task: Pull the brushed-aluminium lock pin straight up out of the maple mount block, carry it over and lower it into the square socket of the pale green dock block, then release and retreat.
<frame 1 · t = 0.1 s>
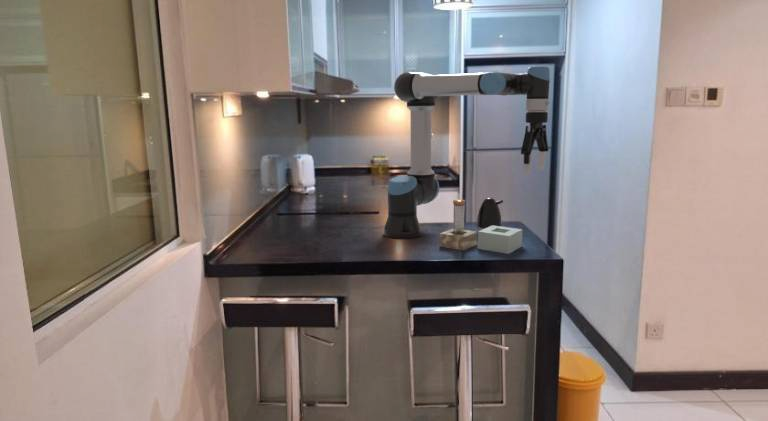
hand: (534, 171, 188), 28 cm above the countertop, fingers open, 13 cm apart
pin: (458, 223, 192), in the mount
pump dispenser: (488, 234, 210), on the countertop
mount: (458, 245, 194), on the countertop
dock: (499, 247, 191), on the countertop
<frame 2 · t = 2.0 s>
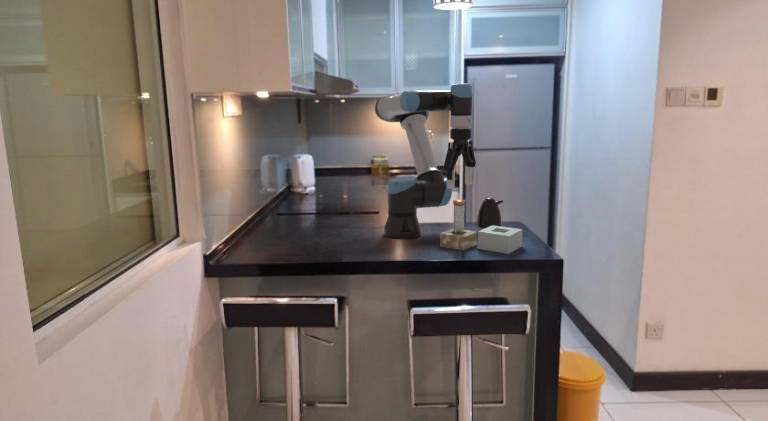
hand: (459, 186, 189), 22 cm above the countertop, fingers open, 13 cm apart
nothing on the countertop moved.
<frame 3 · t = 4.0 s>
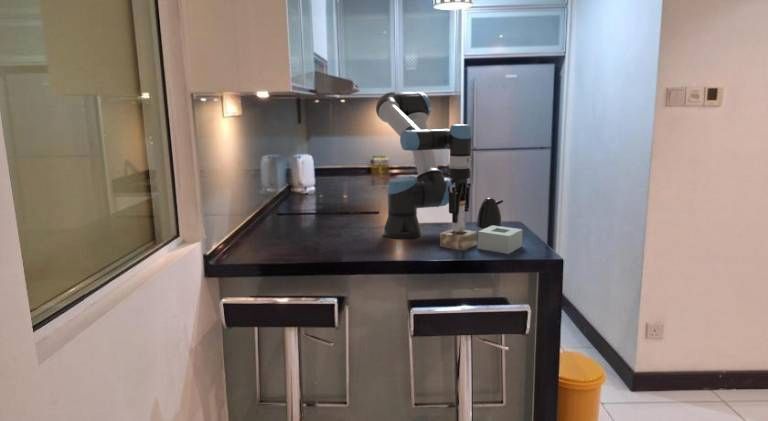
hand: (458, 229, 193), 6 cm above the countertop, fingers closed on pin, 4 cm apart
pin: (458, 223, 192), in the mount, touching gripper
everything else where it was.
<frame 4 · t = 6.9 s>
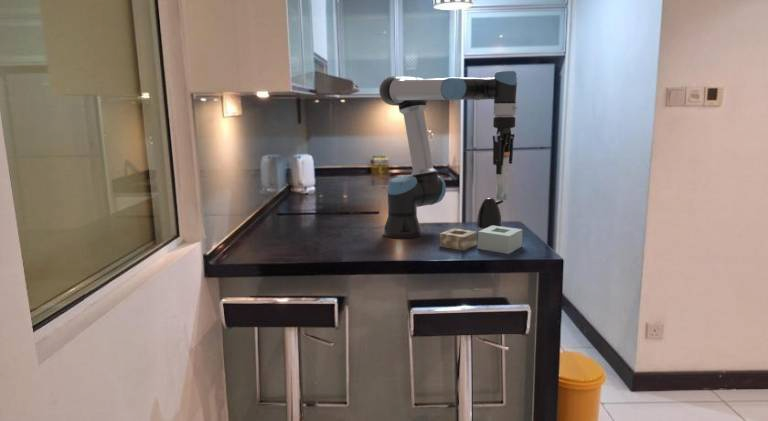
hand: (502, 182, 186), 24 cm above the countertop, fingers closed on pin, 4 cm apart
pin: (502, 175, 185), point 27 cm above the countertop, touching gripper
everything else where it was.
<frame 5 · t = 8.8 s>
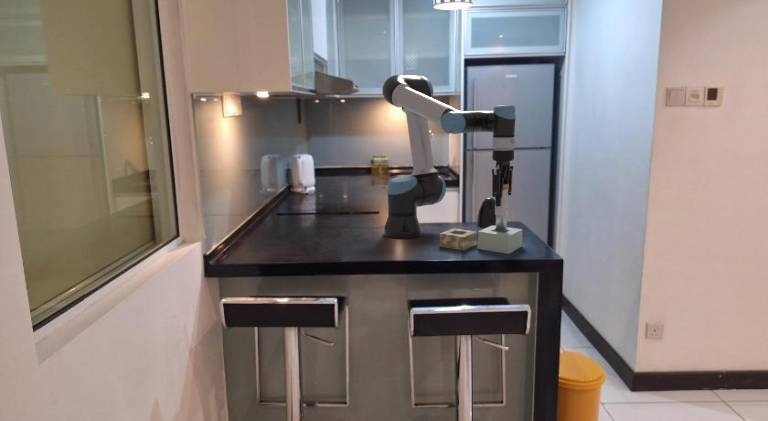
hand: (501, 213, 188), 13 cm above the countertop, fingers closed on pin, 4 cm apart
pin: (501, 207, 187), point 15 cm above the countertop, touching gripper
everything else where it was.
when the fingers open (8 cm above the countertop, at t = 10.0 s): pin drops 2 cm, resting in dock.
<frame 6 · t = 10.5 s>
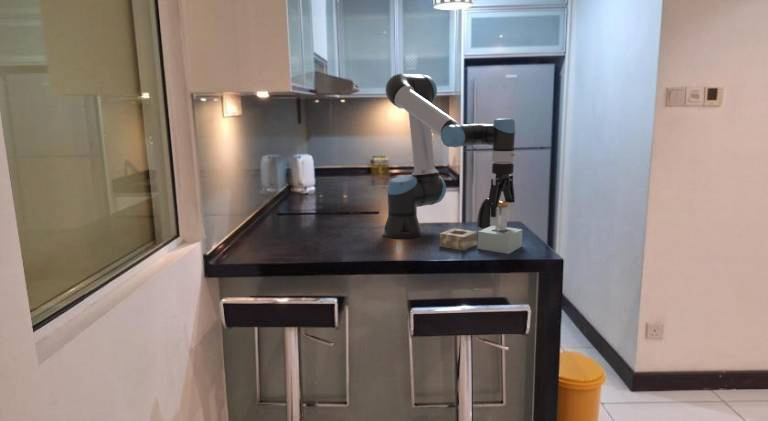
hand: (500, 222, 189), 9 cm above the countertop, fingers open, 11 cm apart
pin: (501, 224, 189), in the dock
everything else where it was.
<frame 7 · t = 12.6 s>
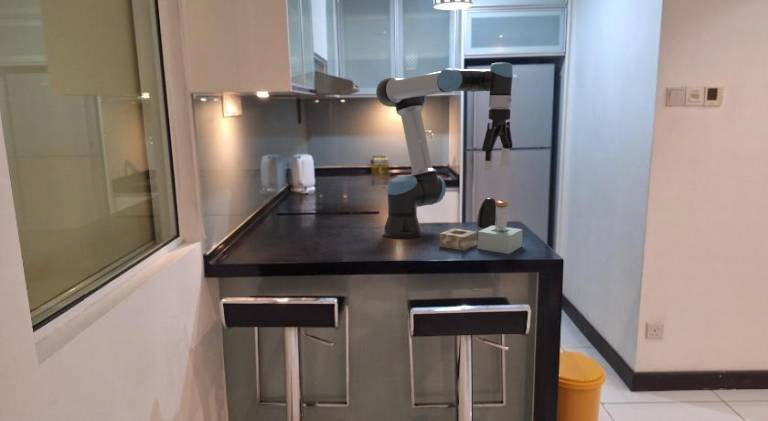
hand: (496, 168, 187), 29 cm above the countertop, fingers open, 13 cm apart
nothing on the countertop moved.
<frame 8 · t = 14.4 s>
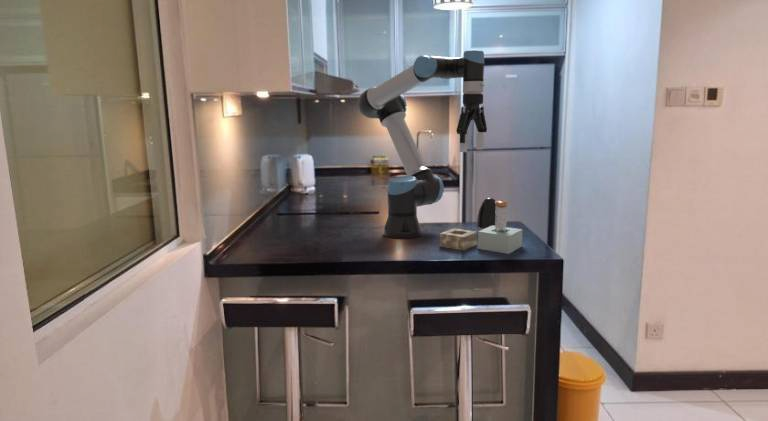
hand: (471, 150, 196), 35 cm above the countertop, fingers open, 13 cm apart
nothing on the countertop moved.
at the end: pin 0.0 cm off-centre on the dock, point 8.6 cm above the dock's base; pin tilted 0°; the gripper is holding nothing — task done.
